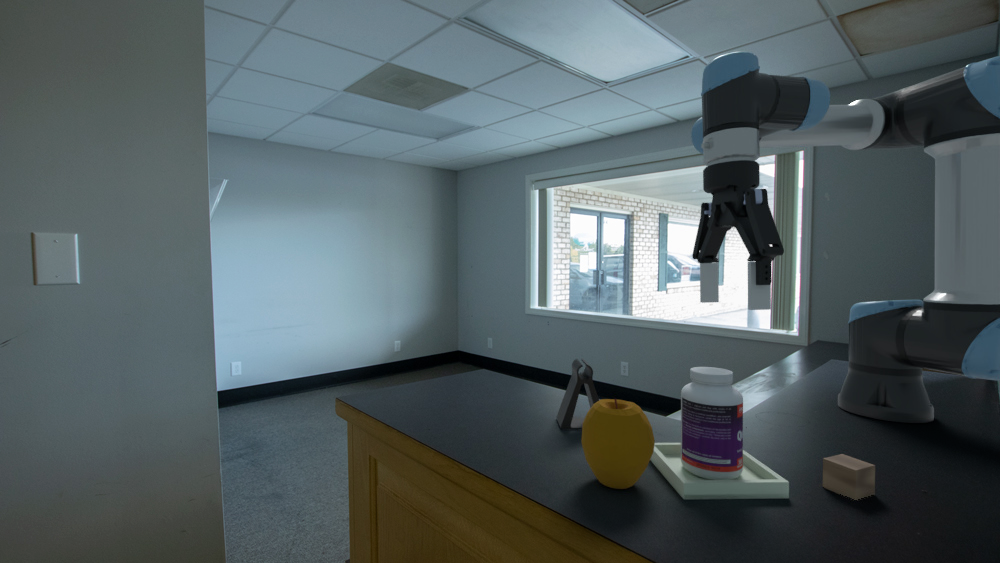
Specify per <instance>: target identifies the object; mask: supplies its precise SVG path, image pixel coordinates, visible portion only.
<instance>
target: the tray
mask: <svg viewBox="0 0 1000 563" xmlns="http://www.w3.org/2000/svg"><path fill="white" fill-rule="evenodd" d="M650 462H651V463H652V464H653V465H654V467H656V469H657V470H658V471H659V472H660V473H661V475H662V476H663V477H664V478H665V480H667V482H668V483H669V484H670V485H671V487H673V489H674V490H675V491H676V492H677V494H678V495H679V496H680V497H681V498H682V499H683V500H753V499H754V500H755V499H756V500H757V499H759V500H760V499H764V500H765V499H766V500H767V499H768V500H769V499H771V500H772V499H790V482H789V480H787V479H786V478H784V477H782V476H781V475H779V474H778V473H777V472H775V471H774V470H772V469H771V468H770V467H769V466H767V465H766V464H764V463H762V462H761V461H760V460H759V459H757V458H755V457H754V456H753V455H751V454H750V453H748V452H747V451H746V450H744V449H743V471H742V473H741V475H740V476H739V477H737V478H735V479H732V480H711V479H706V478H702V477H699V476H697V475H695V474H693V473H691V472H689V471H688V470H687V469H686V468H685V467H684V466H683V465H682V463H681V442H655V444H654V452H653V454H652V456H651V459H650Z"/></svg>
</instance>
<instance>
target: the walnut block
mask: <svg viewBox="0 0 1000 563" xmlns="http://www.w3.org/2000/svg"><path fill="white" fill-rule="evenodd" d="M823 487H824V489H825V490H828V491H831V492H833V493H835V494H838V495H840V494H841V495H840V496H842V495H843V496H842V497H845V496H847V497H850V498H852V499H854V500H857V501H859V500H858V499H860V500H862V499H861V498H864V497H867V498H869V497H868V496H870V497H872V496H871V495H874V496H875V495H876V465H875V464H872V463H869V462H867V461H865V460H861V459H858V458H855V457H852V456H850V455H846V454H843V453H841V454H839V453H838V454H835V455H831V456H828V457H827V456H826V457H823V458H822V488H823ZM847 497H846V498H847ZM852 499H851V500H852ZM864 499H865V498H864ZM854 500H853V501H854Z"/></svg>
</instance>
